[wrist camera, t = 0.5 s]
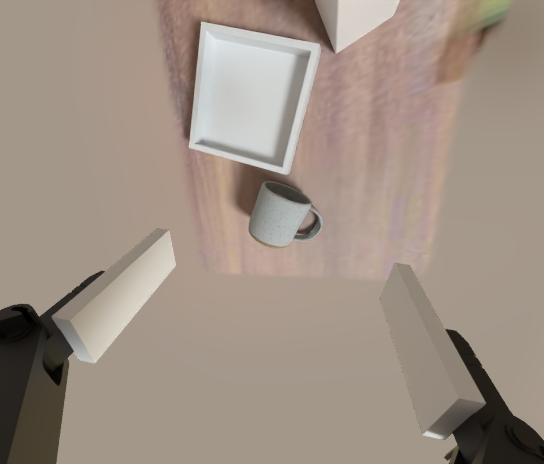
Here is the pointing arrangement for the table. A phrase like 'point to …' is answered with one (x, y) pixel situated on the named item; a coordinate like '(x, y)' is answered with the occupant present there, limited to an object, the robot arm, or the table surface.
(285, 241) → the ceramic mug
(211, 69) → the tray
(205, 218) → the table surface
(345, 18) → the milk carton
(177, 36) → the table surface
